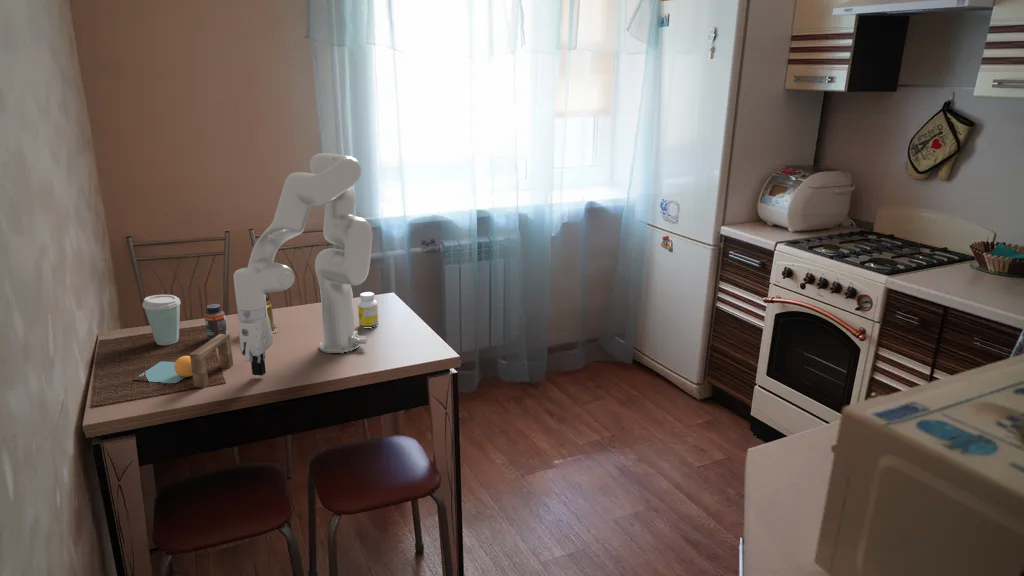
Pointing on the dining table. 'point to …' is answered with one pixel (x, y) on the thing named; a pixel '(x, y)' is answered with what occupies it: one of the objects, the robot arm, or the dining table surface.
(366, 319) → the pill bottle
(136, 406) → the dining table surface
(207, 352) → the bridge
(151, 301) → the disposable coffee cup
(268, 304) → the condiment
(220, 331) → the supplement bottle
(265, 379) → the dining table surface
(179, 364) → the ball
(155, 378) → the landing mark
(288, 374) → the dining table surface
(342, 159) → the robot arm
